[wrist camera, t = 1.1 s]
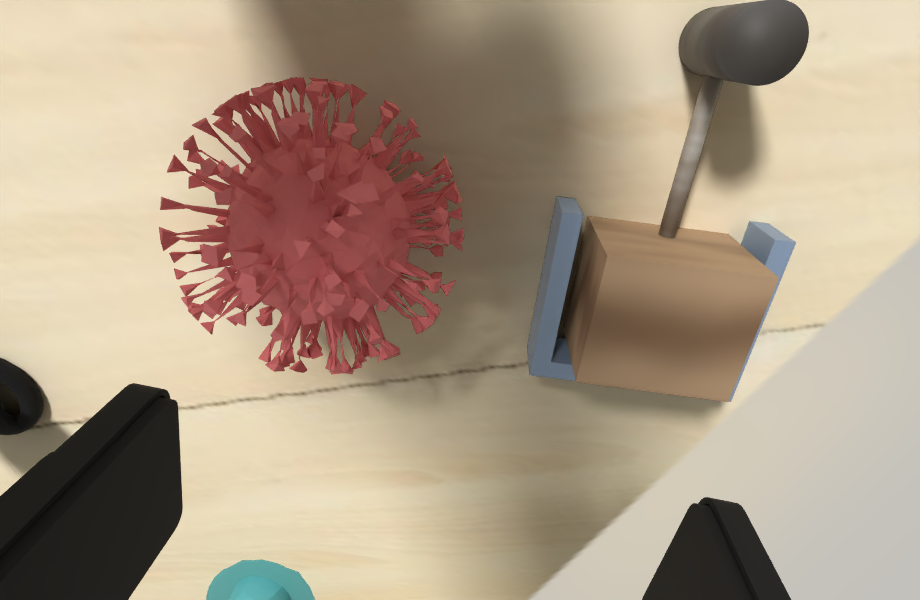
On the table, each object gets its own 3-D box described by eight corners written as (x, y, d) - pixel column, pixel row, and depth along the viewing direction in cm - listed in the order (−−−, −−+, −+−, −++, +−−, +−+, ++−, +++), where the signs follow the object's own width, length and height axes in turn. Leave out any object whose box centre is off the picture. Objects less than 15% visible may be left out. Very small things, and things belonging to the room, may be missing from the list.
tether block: (690, 341, 38) (728, 401, 32) (563, 324, 38) (575, 381, 32) (804, 17, 29) (888, 12, 23) (637, -4, 29) (675, -14, 23)
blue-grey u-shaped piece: (712, 372, 39) (730, 401, 36) (527, 347, 39) (529, 375, 36) (768, 223, 34) (796, 242, 31) (556, 196, 34) (562, 212, 31)
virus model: (358, 12, 30) (248, -9, 17) (515, 215, 35) (526, 325, 21) (195, 174, 35) (7, 258, 22) (351, 334, 40) (276, 486, 26)
